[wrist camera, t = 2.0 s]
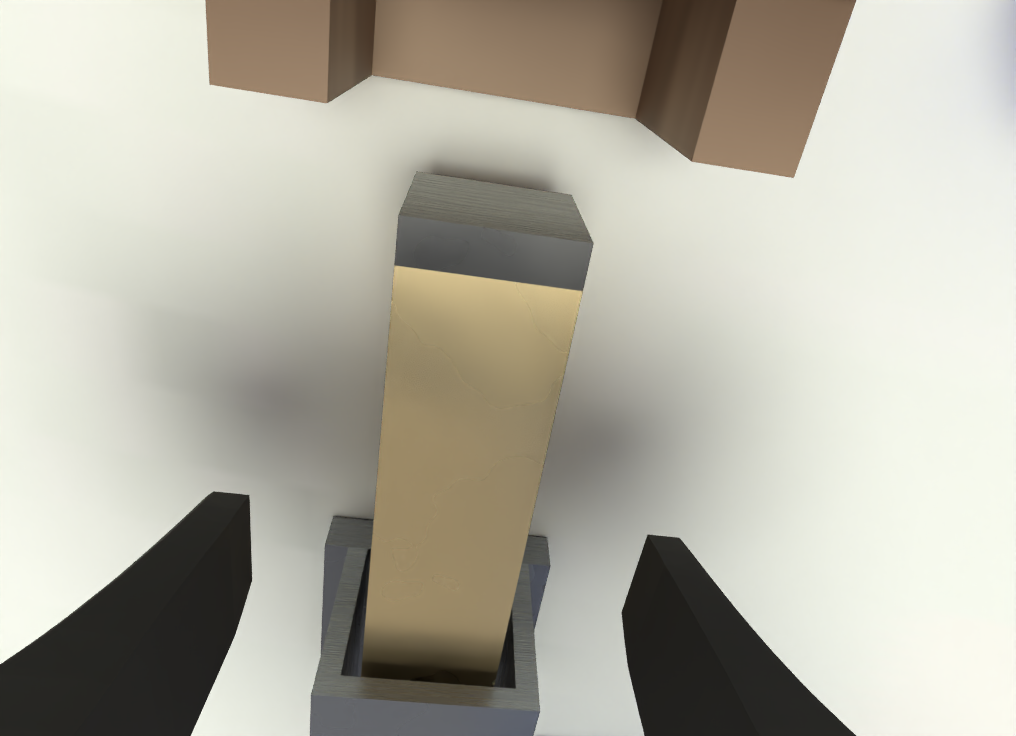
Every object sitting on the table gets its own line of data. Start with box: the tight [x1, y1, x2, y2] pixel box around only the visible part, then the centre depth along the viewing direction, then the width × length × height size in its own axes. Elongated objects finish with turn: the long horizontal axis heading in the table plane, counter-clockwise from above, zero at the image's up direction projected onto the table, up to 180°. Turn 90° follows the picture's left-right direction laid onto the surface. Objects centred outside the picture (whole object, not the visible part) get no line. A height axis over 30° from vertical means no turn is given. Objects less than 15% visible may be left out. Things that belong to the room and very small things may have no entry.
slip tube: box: [361, 171, 593, 687], centre depth 15 cm, size 14×3×3 cm, turn 171°
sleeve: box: [310, 517, 550, 736], centre depth 18 cm, size 6×6×5 cm
